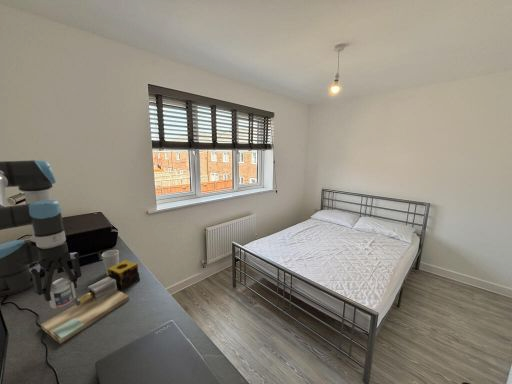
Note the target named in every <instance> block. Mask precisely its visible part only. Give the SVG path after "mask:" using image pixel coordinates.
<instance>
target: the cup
mask: <svg viewBox="0 0 512 384" xmlns="http://www.w3.org/2000/svg"><path fill="white" fill-rule="evenodd" d="M119 253H120V252H119V250H118V249H110V250H106V251H104V252H103V253H102V254H101V258H102V263H103V265H104V266H103V267H104V270H105V274H106V276H109V275H108V268H110V267H112V266H114V265H116V264H118V263H120V257H119V256H120V255H119Z"/></svg>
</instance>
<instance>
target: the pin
mask: <svg viewBox="0 0 512 384" xmlns="http://www.w3.org/2000/svg"><path fill="white" fill-rule="evenodd" d="M93 297H95V294H94V292H93V291H91V292H89V291H88V292H87V293H85V294H82V296H79V297H76V298H74V303H75V305H77V306H79V305H81V304H82V303H84V302H86V301H88V300H90V299H91V298H93Z"/></svg>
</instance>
